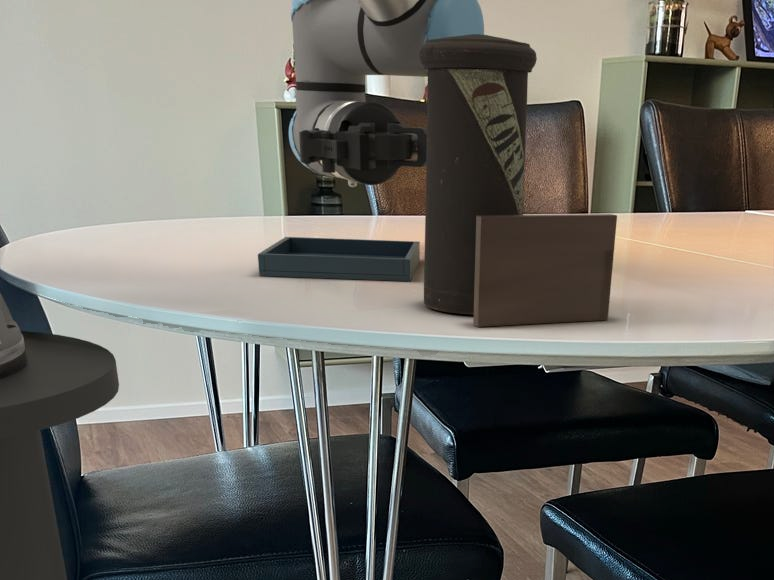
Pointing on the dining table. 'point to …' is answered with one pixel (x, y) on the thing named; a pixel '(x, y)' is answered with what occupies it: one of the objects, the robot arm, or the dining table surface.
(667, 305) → the dining table surface
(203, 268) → the dining table surface
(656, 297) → the dining table surface
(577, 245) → the brown wooden block
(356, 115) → the robot arm
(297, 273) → the tray
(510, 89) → the container
